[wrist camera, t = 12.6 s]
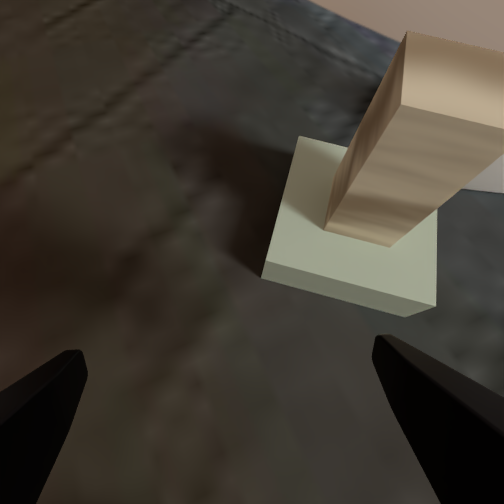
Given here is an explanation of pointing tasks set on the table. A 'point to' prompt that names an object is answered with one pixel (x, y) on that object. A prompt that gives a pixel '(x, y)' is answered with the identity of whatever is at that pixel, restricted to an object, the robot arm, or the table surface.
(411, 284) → the sage base block
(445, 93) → the maple block
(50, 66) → the table surface
